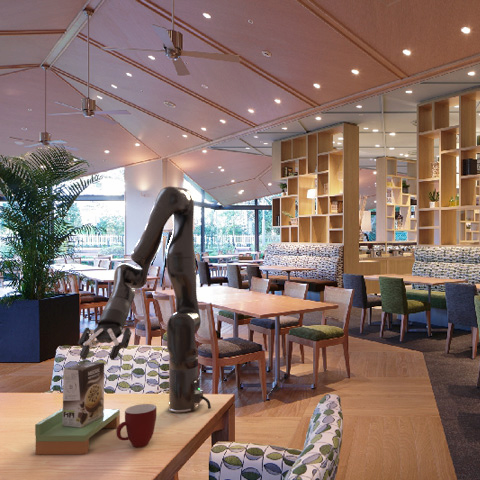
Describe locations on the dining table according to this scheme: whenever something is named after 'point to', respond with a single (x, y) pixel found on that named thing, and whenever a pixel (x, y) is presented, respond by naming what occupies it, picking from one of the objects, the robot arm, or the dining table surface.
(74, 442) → the shelf
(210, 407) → the robot arm
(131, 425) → the mug
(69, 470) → the dining table surface
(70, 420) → the coffee box
